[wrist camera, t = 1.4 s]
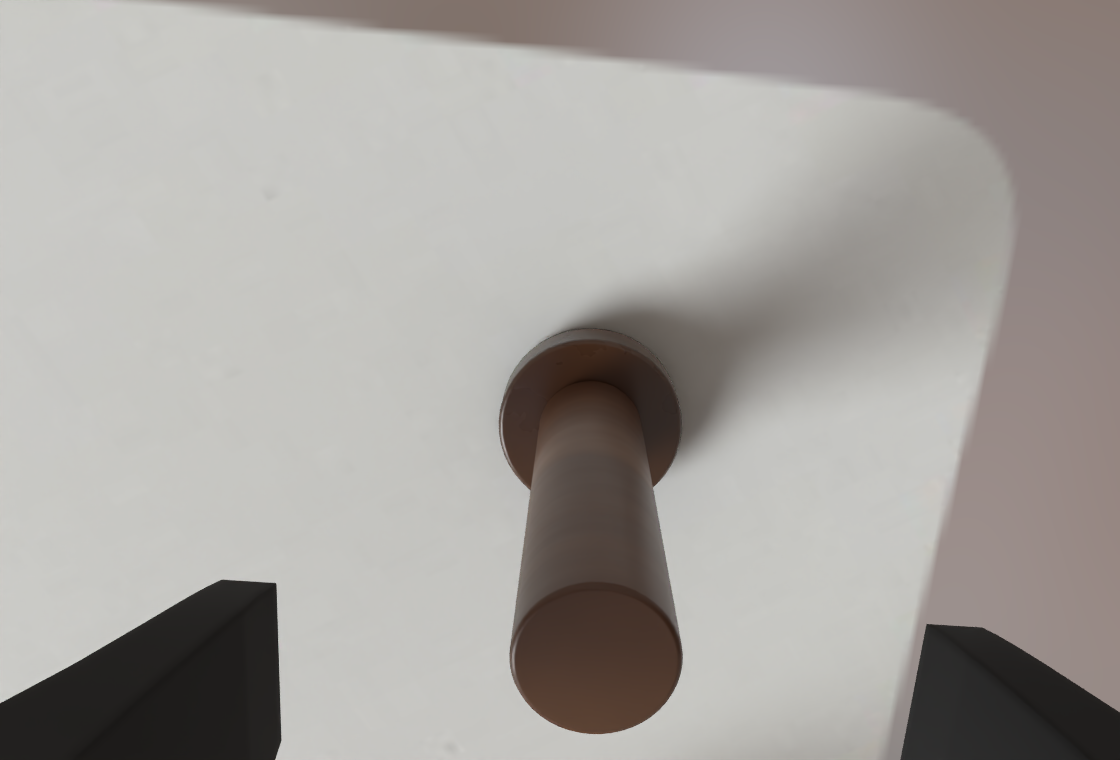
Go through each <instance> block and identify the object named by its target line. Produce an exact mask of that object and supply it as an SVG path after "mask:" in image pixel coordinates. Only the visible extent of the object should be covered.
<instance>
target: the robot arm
mask: <svg viewBox="0 0 1120 760" xmlns="http://www.w3.org/2000/svg"><path fill="white" fill-rule="evenodd" d="M280 743H281V716H280V684H279V653H278V622H277V590H276V583H265V582H249V581H233V580H220V581H218V582H216V583H214V584H212V585H210V586H208V587H206V588H204V589H202V590H200V591H198V592H197V593H195V594H193V595H191V596H189V597H188V598H186V599H184V600H182V601H181V602H179V603H177V604H176V605H174V606H172V607H170V608H169V609H167V610H165V611H164V612H162V613H160V614H159V615H157V616H155V617H154V618H152V619H150V620H148V621H147V622H145V623H143V624H142V625H140V626H138V627H137V628H135V629H133V630H132V631H130V632H128V633H126V634H125V635H123V636H121V637H120V638H118V639H116V640H114V641H113V642H111V643H109V644H108V645H106V646H104V647H102V648H101V649H99V650H97V651H96V652H94V653H92V654H90V655H89V656H87V657H85V658H84V659H82V660H80V661H78V662H77V663H75V664H73V665H71V666H69V667H68V668H66V669H64V670H62V671H60V672H58V673H56V674H54V675H53V676H51V677H49V678H47V679H45V680H43V681H41V682H39V683H38V684H36V685H34V686H32V687H30V688H28V689H26V690H24V691H23V692H21V693H19V694H17V695H15V696H13V697H11V698H9V699H8V700H6V701H4V702H2V703H0V760H275V758H276V755H277V752H278V749H279V746H280ZM901 760H1120V712H1118V711H1117V710H1115V709H1114V708H1112V707H1110V706H1109V705H1107V704H1106V703H1104V702H1103V701H1101V700H1100V699H1098V698H1097V697H1095V696H1093V695H1092V694H1090V693H1089V692H1087V691H1086V690H1084V689H1083V688H1081V687H1080V686H1078V685H1076V684H1075V683H1073V682H1072V681H1070V680H1069V679H1067V678H1066V677H1064V676H1063V675H1061V674H1059V673H1058V672H1056V671H1055V670H1053V669H1052V668H1050V667H1049V666H1047V665H1046V664H1044V663H1042V662H1041V661H1039V660H1038V659H1036V658H1034V657H1033V656H1031V655H1030V654H1028V653H1026V652H1025V651H1023V650H1022V649H1020V648H1018V647H1017V646H1015V645H1013V644H1012V643H1010V642H1008V641H1006V640H1005V639H1003V638H1001V637H999V636H998V635H996V634H993V633H992V632H990V631H987V630H986V629H984V628H979V627H964V626H947V625H932V624H927V626H926V630H925V635H924V641H923V645H922V651H921V656H920V661H919V667H918V672H917V677H916V682H915V687H914V692H913V698H912V703H911V708H910V714H909V719H908V724H907V729H906V734H905V739H904V745H903V750H902V755H901Z"/></svg>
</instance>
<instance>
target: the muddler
mask: <svg viewBox="0 0 1120 760" xmlns="http://www.w3.org/2000/svg"><path fill="white" fill-rule="evenodd" d="M681 430H682V419H681V410H680V406H679V402H678V398H677V395H676V392H675V389H674V386H673V384H672V381H671V379H670V376H669V375H668V373H667V371H666V369H665V368H664V366H663V365H662V364H661V362H660V361H659V360H658V358H657V357H656V356H655V355H654V354H653V353H652V352H651V351H650V350H648V349H647V348H646V347H644V346H643V345H642V344H640V343H639V342H637V341H635V340H633V339H632V338H630V337H627V336H625V335H622V334H620V333H617V332H613V331H609V330H602V329H578V330H571V331H567V332H564V333H560V334H558V335H555V336H553V337H550V338H549V339H547V340H545V341H543V342H541V343H540V344H538V345H537V346H536V347H534V348H533V349H532V350H531V351H530V352H529V353H528V354H527V355H526V356H524V357H523V359H522V360H521V361H520V362H519V364H518V365H517V366H516V368H515V369H514V371H513V373H512V375H511V376H510V379H509V381H508V384H507V386H506V389H505V393H504V397H503V401H502V405H501V409H500V416H499V435H500V441H501V445H502V449H503V452H504V455H505V457H506V459H507V461H508V463H509V465H510V467H511V468H512V470H513V472H514V473H515V475H516V476H517V477H518V478H519V479H520V480H521V482H522V483H523V484H524V485H525V486H527V487H528V488H529V489H530V490H531V492H530V500H529V507H528V515H527V523H526V531H525V538H524V546H523V554H522V561H521V569H520V577H519V584H518V592H517V600H516V607H515V615H514V623H513V630H512V638H511V646H510V667H511V673H512V676H513V679H514V682H515V684H516V686H517V688H518V690H519V692H520V693H521V695H522V696H523V698H524V699H525V701H526V702H527V703H528V704H529V705H530V707H531V708H532V709H533V710H534V711H536V712H537V713H538V714H539V715H540V716H542V717H543V718H545V719H546V720H548V721H549V722H551V723H553V724H555V725H557V726H559V727H562V728H565V729H567V730H571V731H575V732H579V733H588V734H605V733H613V732H618V731H622V730H625V729H628V728H631V727H634V726H636V725H638V724H640V723H642V722H643V721H645V720H647V719H648V718H650V717H651V716H652V715H654V714H655V713H656V712H657V711H658V710H659V709H660V708H661V707H662V706H663V705H664V704H665V703H666V702H667V700H668V699H669V697H670V696H671V694H672V693H673V691H674V689H675V687H676V685H677V683H678V680H679V677H680V674H681V669H682V659H683V653H682V645H681V639H680V634H679V628H678V623H677V617H676V612H675V606H674V601H673V595H672V590H671V584H670V579H669V573H668V568H667V562H666V557H665V551H664V546H663V540H662V535H661V529H660V524H659V518H658V513H657V507H656V502H655V496H654V491H653V487H654V486H655V485H656V484H657V483H658V482H659V481H660V480H661V479H662V477H663V476H664V475H665V474H666V472H667V471H668V469H669V468H670V466H671V464H672V462H673V460H674V458H675V456H676V453H677V450H678V447H679V444H680V438H681Z"/></svg>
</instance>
